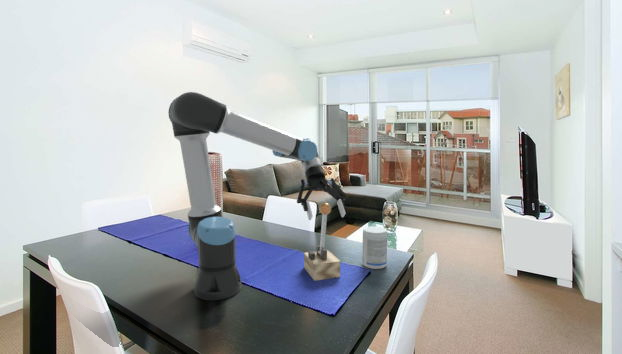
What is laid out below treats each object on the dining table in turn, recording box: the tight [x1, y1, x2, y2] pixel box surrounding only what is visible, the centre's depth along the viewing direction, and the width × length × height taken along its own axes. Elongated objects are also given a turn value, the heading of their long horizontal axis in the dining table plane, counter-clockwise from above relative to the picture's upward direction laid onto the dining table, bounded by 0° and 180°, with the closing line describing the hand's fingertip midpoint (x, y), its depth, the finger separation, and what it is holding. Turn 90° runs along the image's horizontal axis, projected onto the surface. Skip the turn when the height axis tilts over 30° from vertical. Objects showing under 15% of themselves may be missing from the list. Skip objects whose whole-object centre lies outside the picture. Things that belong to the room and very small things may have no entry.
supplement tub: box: [362, 226, 388, 270], centre depth 123 cm, size 10×10×15 cm
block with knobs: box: [303, 244, 341, 282], centre depth 117 cm, size 10×12×10 cm
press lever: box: [318, 202, 332, 256], centre depth 115 cm, size 4×4×20 cm
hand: (327, 216), depth 112 cm, fingers open, 12 cm apart
